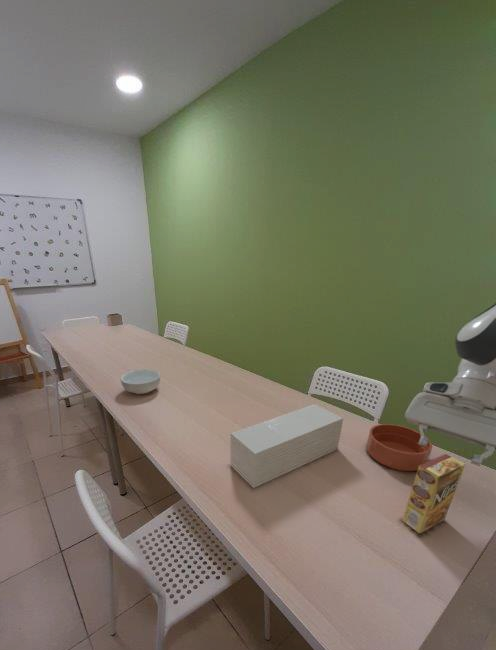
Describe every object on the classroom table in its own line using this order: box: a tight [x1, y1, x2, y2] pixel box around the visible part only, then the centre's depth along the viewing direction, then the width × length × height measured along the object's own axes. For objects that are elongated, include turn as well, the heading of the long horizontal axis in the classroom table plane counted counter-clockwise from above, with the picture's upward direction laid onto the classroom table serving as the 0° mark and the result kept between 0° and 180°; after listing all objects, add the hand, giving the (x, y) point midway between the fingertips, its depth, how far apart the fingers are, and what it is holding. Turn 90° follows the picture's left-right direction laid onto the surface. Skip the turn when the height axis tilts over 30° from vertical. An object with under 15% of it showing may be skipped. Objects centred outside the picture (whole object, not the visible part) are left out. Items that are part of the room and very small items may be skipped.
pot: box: [365, 423, 433, 472], centre depth 86 cm, size 15×15×6 cm
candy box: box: [402, 453, 466, 534], centre depth 63 cm, size 9×4×15 cm, turn 115°
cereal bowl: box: [120, 368, 161, 395], centre depth 133 cm, size 17×17×7 cm
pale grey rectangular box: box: [229, 403, 344, 489], centre depth 86 cm, size 32×11×11 cm, turn 120°
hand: (447, 454), depth 65 cm, fingers open, 8 cm apart
